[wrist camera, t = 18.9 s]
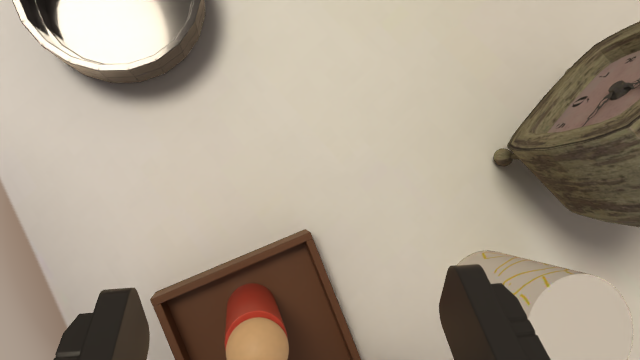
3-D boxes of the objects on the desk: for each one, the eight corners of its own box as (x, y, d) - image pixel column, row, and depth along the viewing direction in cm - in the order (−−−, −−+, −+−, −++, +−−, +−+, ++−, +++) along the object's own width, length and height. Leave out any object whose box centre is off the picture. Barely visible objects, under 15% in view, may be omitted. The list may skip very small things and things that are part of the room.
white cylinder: (530, 254, 45) (638, 278, 33) (522, 342, 44) (628, 398, 32) (450, 246, 43) (531, 269, 31) (441, 337, 43) (520, 394, 31)
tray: (377, 410, 42) (387, 425, 39) (235, 482, 39) (235, 503, 37) (305, 229, 41) (310, 231, 38) (155, 292, 39) (149, 299, 36)
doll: (259, 340, 39) (270, 408, 27) (217, 316, 39) (209, 375, 27) (284, 298, 40) (307, 347, 28) (243, 274, 39) (248, 312, 27)
